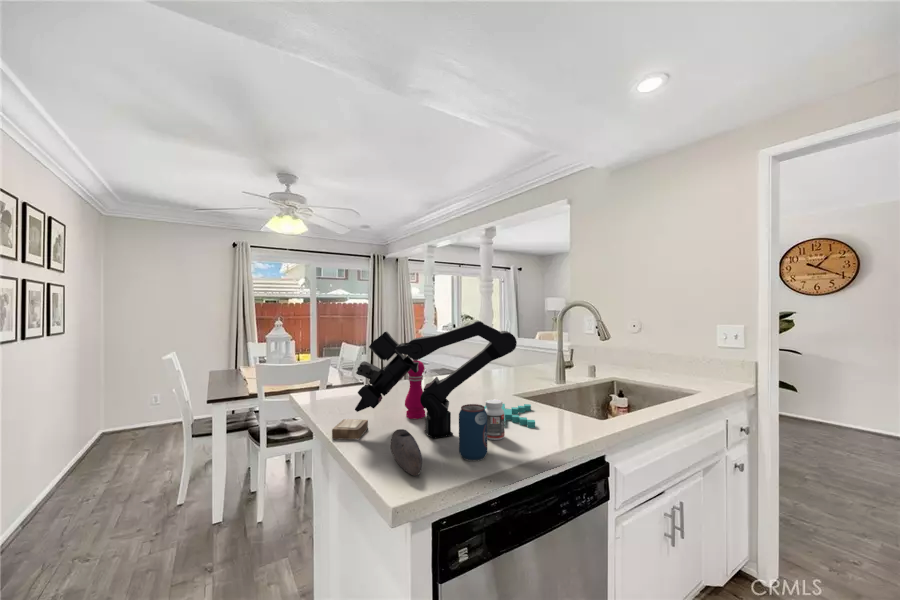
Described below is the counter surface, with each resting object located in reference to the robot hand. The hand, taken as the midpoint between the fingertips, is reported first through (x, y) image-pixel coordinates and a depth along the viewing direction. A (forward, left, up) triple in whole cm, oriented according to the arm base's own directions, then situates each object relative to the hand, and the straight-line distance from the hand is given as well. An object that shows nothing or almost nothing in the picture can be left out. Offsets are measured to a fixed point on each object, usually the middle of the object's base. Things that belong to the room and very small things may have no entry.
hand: (356, 410), depth 110 cm
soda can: (-22, +29, -7) cm, 38 cm away
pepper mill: (-21, -8, -7) cm, 24 cm away
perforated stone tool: (-6, +28, -7) cm, 30 cm away
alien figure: (-46, +5, -7) cm, 47 cm away
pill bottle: (-34, +20, -7) cm, 40 cm away
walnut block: (-2, +1, -5) cm, 6 cm away
